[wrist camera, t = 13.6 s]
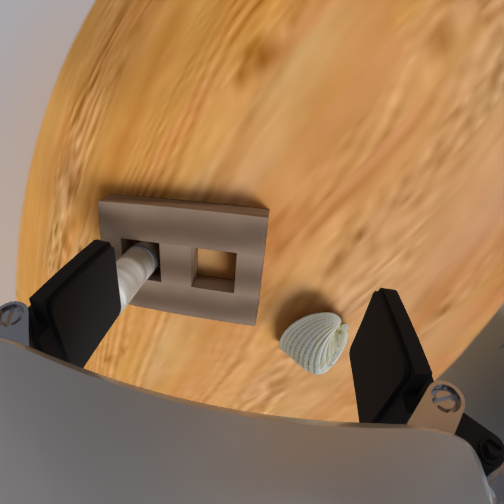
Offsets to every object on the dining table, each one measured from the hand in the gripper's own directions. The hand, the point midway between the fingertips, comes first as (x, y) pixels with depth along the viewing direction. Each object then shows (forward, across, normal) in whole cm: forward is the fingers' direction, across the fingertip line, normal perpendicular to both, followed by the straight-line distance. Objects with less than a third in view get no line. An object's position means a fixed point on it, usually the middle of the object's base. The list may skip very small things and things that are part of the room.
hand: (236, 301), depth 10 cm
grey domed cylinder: (+24, +14, +13) cm, 30 cm away
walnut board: (+24, +9, +12) cm, 29 cm away
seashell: (+24, -9, +20) cm, 32 cm away
